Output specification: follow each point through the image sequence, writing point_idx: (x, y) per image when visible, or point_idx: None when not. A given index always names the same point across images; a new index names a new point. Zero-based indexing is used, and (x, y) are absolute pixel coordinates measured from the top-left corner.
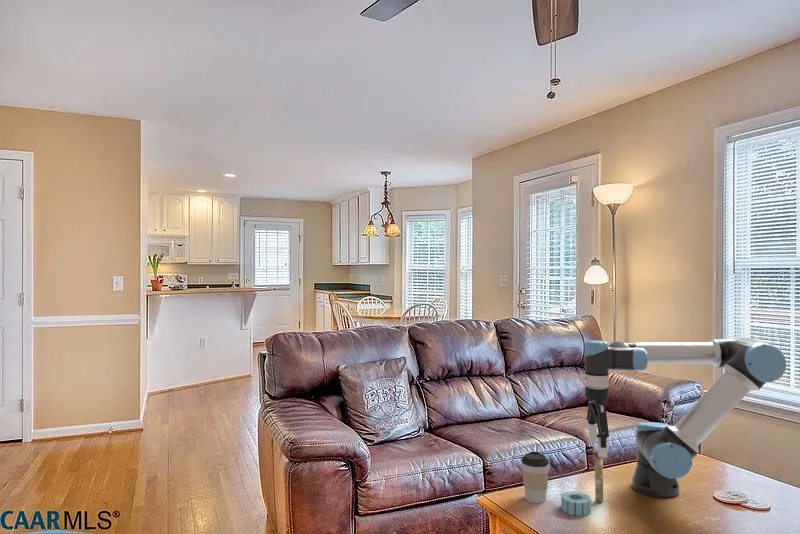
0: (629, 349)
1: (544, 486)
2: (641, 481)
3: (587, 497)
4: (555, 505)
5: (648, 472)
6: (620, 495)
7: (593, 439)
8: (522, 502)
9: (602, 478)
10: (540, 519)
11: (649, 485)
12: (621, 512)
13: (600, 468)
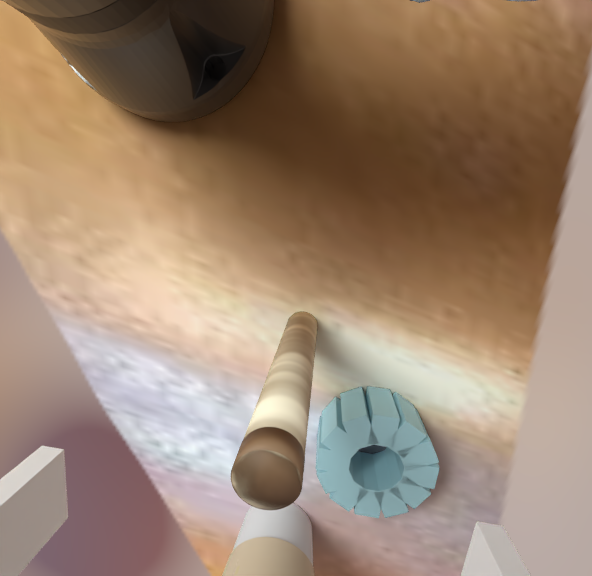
0: None
1: (308, 573)
2: (192, 79)
3: (386, 427)
4: None
5: (183, 5)
6: (247, 216)
7: (27, 519)
8: None
9: (306, 358)
10: (434, 560)
11: (228, 49)
12: (410, 280)
13: (309, 404)
